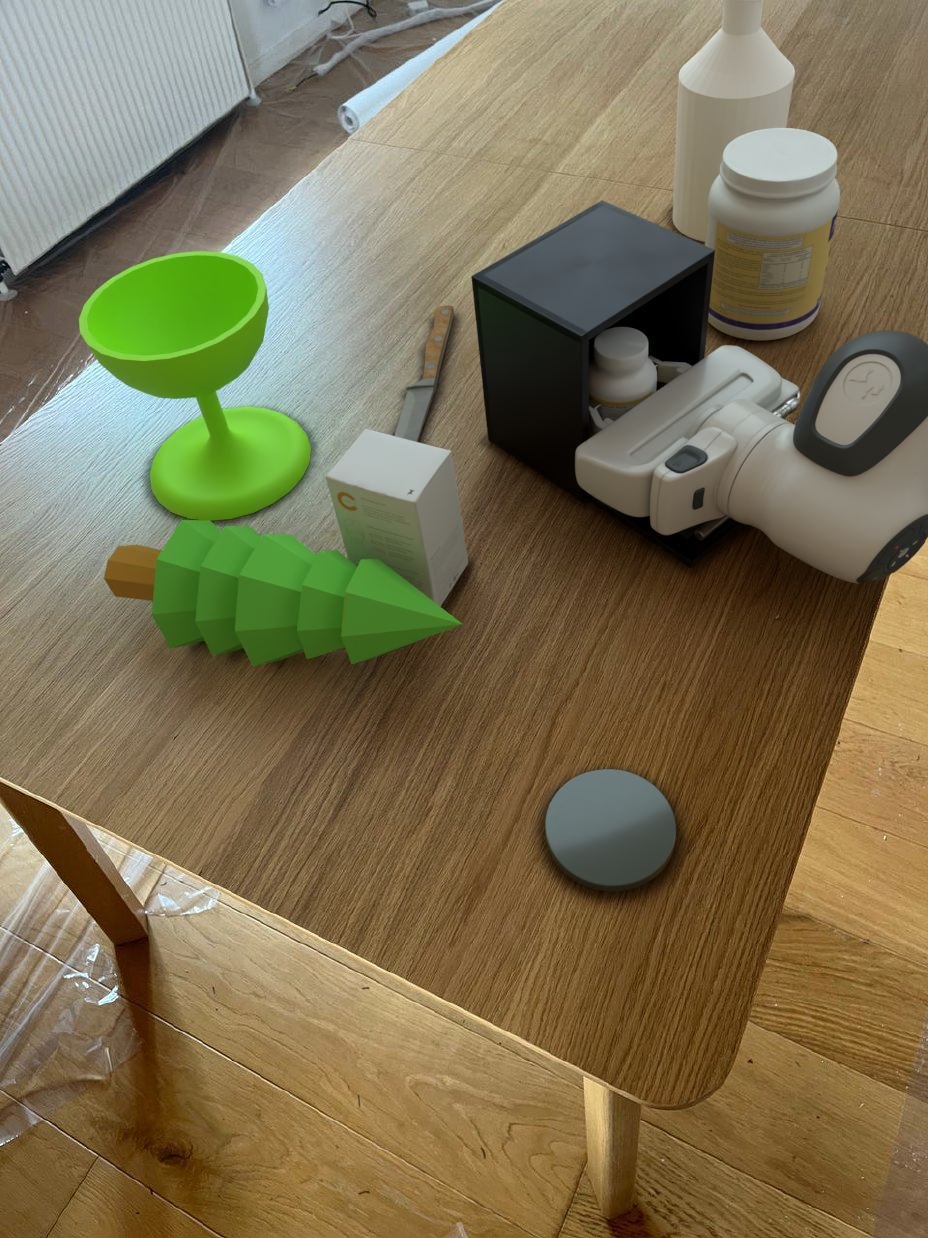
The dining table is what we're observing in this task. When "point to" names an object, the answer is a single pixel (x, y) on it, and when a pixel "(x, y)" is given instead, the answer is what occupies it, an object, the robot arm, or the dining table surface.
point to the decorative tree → (271, 595)
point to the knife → (426, 378)
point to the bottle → (725, 105)
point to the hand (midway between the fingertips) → (611, 386)
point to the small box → (401, 510)
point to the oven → (587, 340)
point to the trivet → (610, 830)
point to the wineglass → (198, 378)
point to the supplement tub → (771, 232)
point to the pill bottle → (620, 371)
